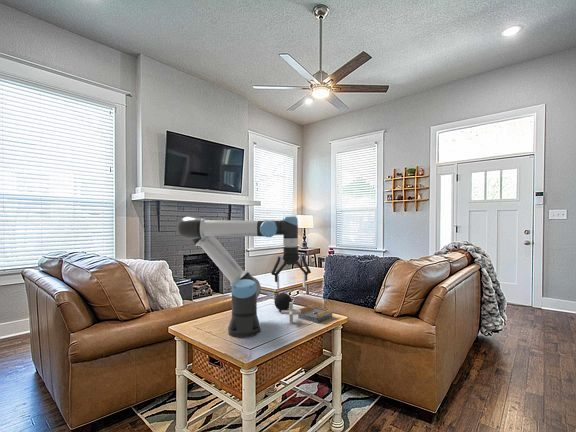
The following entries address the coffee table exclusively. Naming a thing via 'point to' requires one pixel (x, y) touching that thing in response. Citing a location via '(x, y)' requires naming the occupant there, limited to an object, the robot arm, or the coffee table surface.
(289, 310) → the pipe connector
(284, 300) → the speaker
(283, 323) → the coffee table surface
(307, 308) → the block
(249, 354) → the coffee table surface
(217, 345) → the coffee table surface
